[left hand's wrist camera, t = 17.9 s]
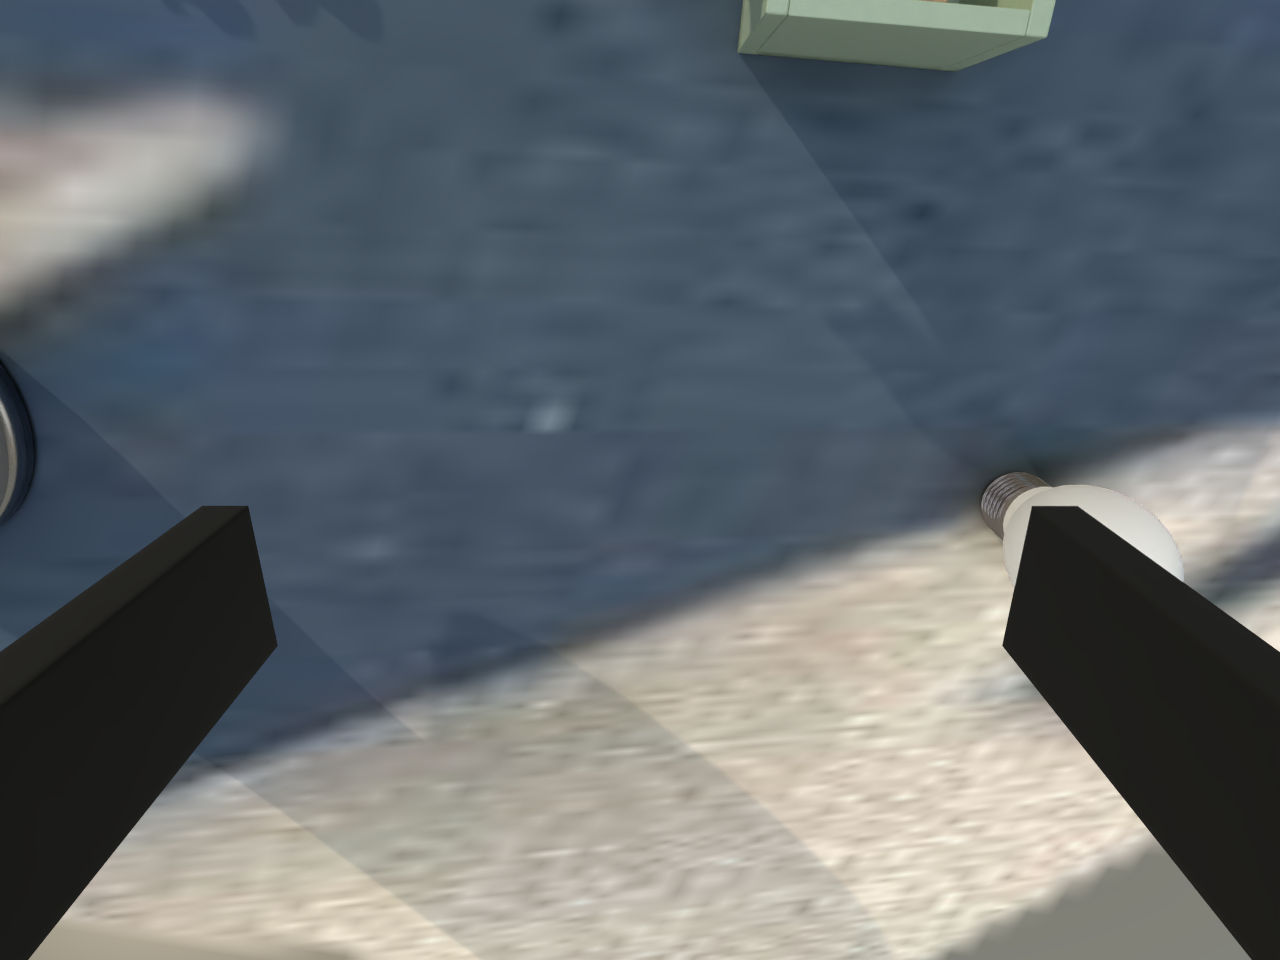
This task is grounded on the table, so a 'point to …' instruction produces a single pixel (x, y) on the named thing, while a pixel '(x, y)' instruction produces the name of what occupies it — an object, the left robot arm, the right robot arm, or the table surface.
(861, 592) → the table surface
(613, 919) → the table surface
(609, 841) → the table surface
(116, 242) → the table surface
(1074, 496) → the light bulb
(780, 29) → the box
